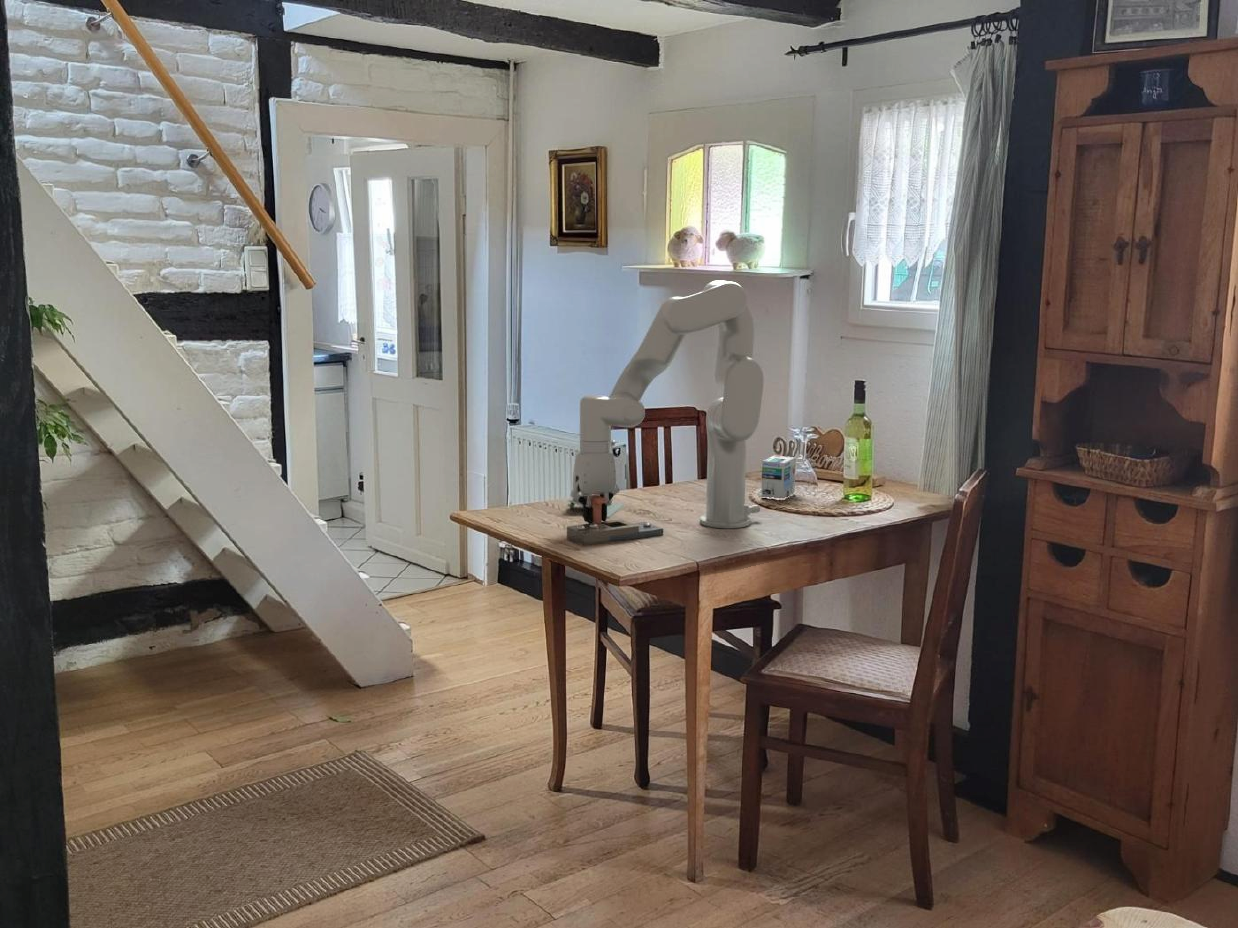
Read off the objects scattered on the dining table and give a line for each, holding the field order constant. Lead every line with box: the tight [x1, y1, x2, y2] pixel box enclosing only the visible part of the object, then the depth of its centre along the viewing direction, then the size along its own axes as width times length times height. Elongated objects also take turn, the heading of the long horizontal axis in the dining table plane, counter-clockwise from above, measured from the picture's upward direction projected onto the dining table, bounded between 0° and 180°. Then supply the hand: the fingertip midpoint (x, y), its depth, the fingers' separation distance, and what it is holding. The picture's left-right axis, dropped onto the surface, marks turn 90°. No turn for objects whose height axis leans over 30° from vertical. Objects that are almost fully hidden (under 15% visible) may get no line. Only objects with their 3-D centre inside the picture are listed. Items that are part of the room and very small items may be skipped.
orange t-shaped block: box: [591, 494, 607, 523], centre depth 277 cm, size 3×7×8 cm, turn 32°
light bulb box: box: [760, 454, 797, 498], centre depth 315 cm, size 11×7×11 cm, turn 154°
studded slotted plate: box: [566, 518, 664, 547], centre depth 269 cm, size 22×8×4 cm, turn 122°
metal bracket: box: [567, 492, 626, 519], centre depth 297 cm, size 14×6×15 cm
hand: (595, 520), depth 277 cm, fingers closed on orange t-shaped block, 3 cm apart
